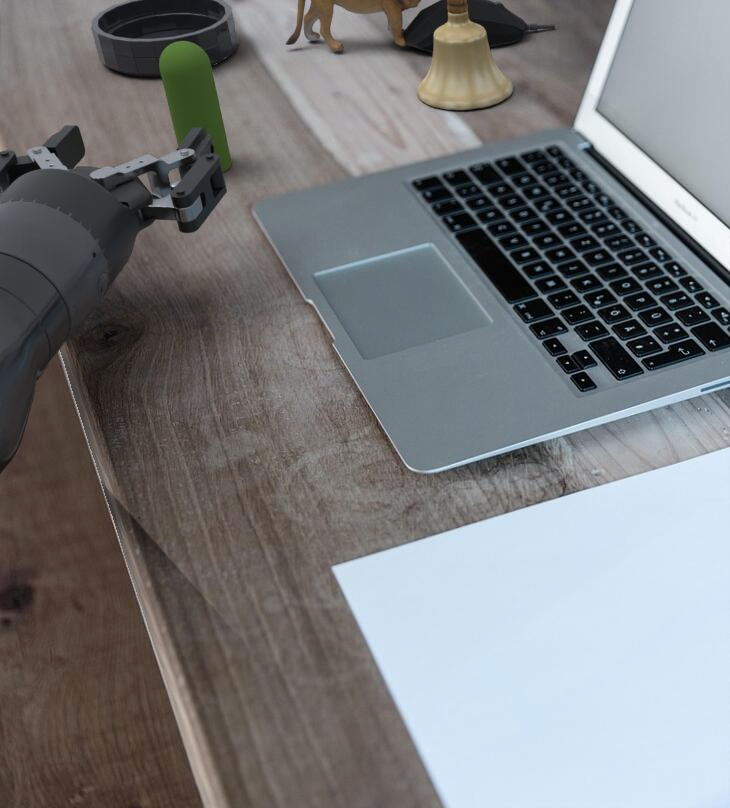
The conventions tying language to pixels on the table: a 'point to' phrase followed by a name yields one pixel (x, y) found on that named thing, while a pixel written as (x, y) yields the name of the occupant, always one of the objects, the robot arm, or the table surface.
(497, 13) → the gaming mouse
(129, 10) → the pan
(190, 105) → the pickle
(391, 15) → the lion figurine
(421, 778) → the table surface
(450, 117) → the table surface
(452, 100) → the hand bell
